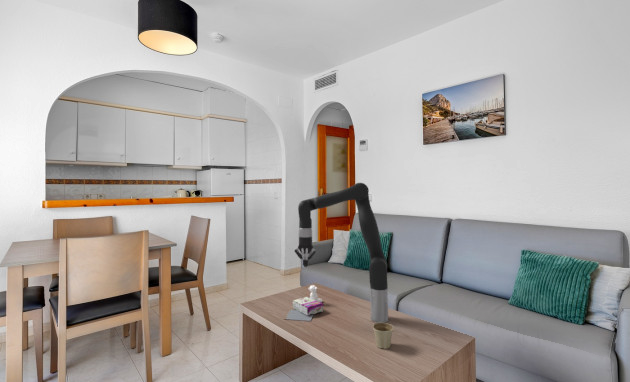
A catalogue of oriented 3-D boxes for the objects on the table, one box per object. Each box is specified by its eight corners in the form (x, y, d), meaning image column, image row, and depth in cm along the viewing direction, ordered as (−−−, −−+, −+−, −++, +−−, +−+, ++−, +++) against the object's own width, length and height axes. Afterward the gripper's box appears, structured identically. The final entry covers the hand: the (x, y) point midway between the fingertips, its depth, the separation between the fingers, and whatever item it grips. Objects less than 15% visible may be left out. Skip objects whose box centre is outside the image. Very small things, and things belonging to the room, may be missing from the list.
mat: (315, 311, 183) (315, 311, 183) (310, 321, 170) (310, 320, 170) (290, 310, 186) (290, 309, 186) (283, 319, 173) (283, 318, 173)
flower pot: (378, 338, 150) (378, 320, 150) (397, 344, 144) (397, 325, 144) (369, 346, 142) (368, 327, 142) (388, 353, 136) (387, 333, 136)
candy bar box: (323, 312, 182) (307, 304, 195) (323, 303, 182) (307, 296, 195) (307, 316, 175) (292, 308, 189) (307, 307, 175) (292, 299, 189)
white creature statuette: (322, 301, 199) (322, 282, 199) (321, 306, 191) (320, 287, 190) (307, 301, 200) (307, 282, 200) (305, 306, 192) (305, 286, 191)
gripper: (318, 234, 179) (318, 265, 179) (295, 234, 182) (296, 264, 182) (315, 237, 172) (315, 268, 172) (292, 236, 174) (292, 267, 175)
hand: (305, 266), depth 177 cm, fingers closed
